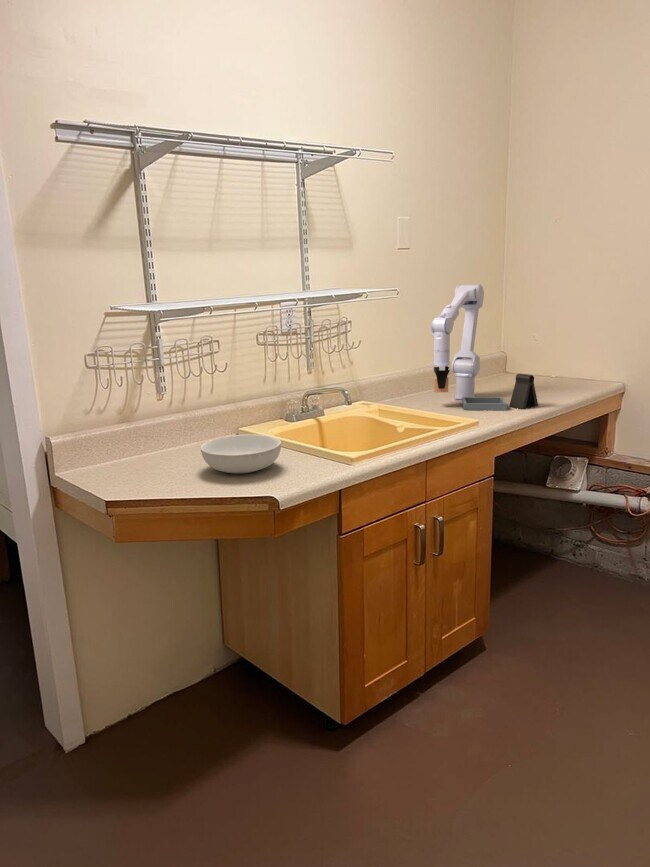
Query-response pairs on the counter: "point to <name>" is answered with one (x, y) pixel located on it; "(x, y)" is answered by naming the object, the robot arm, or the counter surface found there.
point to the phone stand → (524, 392)
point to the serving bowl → (241, 453)
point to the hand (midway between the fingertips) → (441, 387)
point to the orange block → (437, 386)
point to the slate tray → (484, 403)
